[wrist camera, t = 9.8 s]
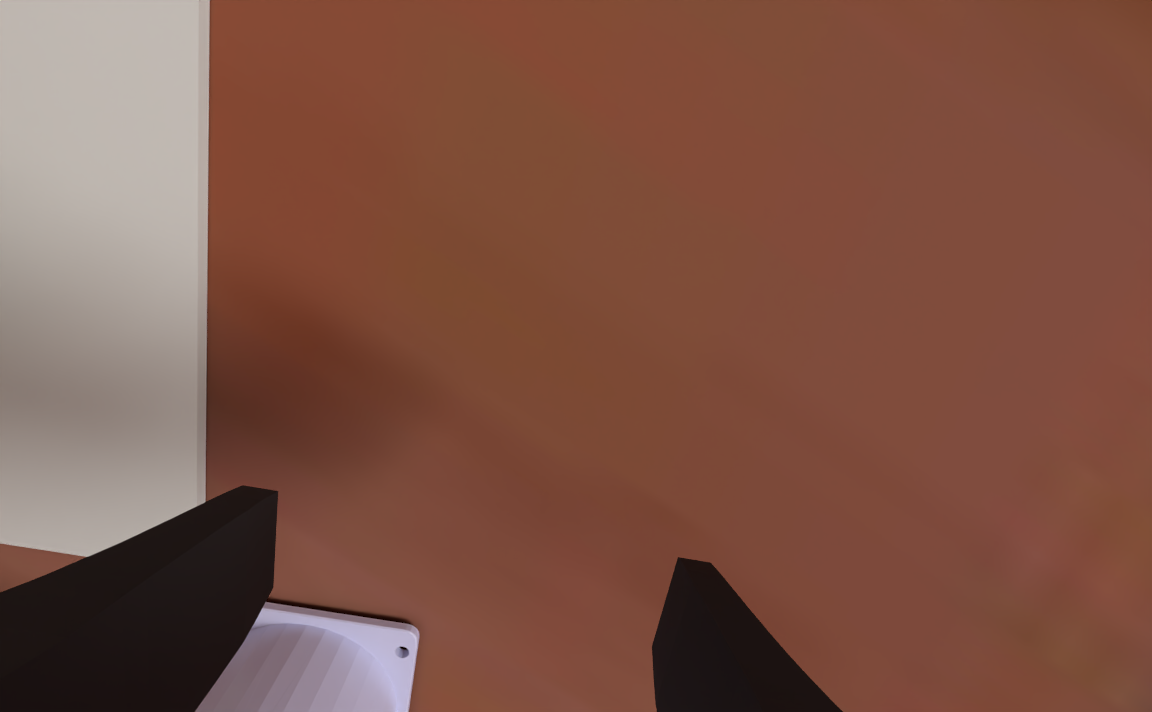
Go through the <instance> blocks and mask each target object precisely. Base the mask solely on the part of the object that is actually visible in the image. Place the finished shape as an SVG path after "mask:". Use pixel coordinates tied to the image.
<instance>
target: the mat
mask: <svg viewBox="0 0 1152 712" xmlns="http://www.w3.org/2000/svg"><path fill="white" fill-rule="evenodd" d="M209 10H210V0H0V543H2V544H8V545H15V546H21V547H27V548H34V549H40V550H47V551H53V552H60V553H66V554H72V555H79V556H85V557H88V556H91V555H93V554H95V553H98V552H100V551H102V550H105V549H107V548H109V547H112V546H114V545H116V544H118V543H121V542H123V541H125V540H127V539H129V538H132V537H134V536H136V535H138V534H140V533H142V532H144V531H146V530H148V529H151V528H153V527H155V526H157V525H159V524H161V523H163V522H165V521H167V520H170V519H172V518H174V517H176V516H178V515H180V514H182V513H184V512H186V511H188V510H190V509H192V508H194V507H196V506H199V505H201V504H203V503H205V491H206V371H207V251H208V130H209Z"/></svg>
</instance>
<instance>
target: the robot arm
mask: <svg viewBox="0 0 1152 712" xmlns="http://www.w3.org/2000/svg"><path fill="white" fill-rule="evenodd" d="M277 502H278V491H273V490H267V489H261V488H255V487H249V486H240V487H238V488H235V489H233V490H231V491H228V492H226V493H224V494H222V495H220V496H217V497H215V498H213V499H211V500H209V501H207V502H205V503H203V504H201V505H199V506H196V507H194V508H192V509H190V510H188V511H186V512H184V513H182V514H180V515H178V516H176V517H174V518H172V519H170V520H167V521H165V522H163V523H161V524H159V525H157V526H155V527H153V528H151V529H148V530H146V531H144V532H142V533H140V534H138V535H136V536H134V537H132V538H129V539H127V540H125V541H123V542H121V543H118V544H116V545H114V546H112V547H109V548H107V549H105V550H102V551H100V552H98V553H95V554H93V555H91V556H88V557H86V558H84V559H82V560H79V561H77V562H75V563H72V564H70V565H68V566H65V567H63V568H61V569H58V570H56V571H54V572H51V573H49V574H47V575H44V576H42V577H39V578H37V579H34V580H32V581H29V582H27V583H24V584H21V585H19V586H16V587H14V588H11V589H8V590H6V591H3V592H0V712H409V706H410V699H411V692H412V685H413V678H414V671H415V664H416V657H417V650H418V643H419V631H418V630H417V628H415V627H414V626H413V625H410V624H406V623H399V622H393V621H386V620H380V619H373V618H367V617H360V616H354V615H347V614H341V613H334V612H327V611H321V610H314V609H308V608H301V607H295V606H288V605H282V604H275V603H269V602H266V600H267V598H268V597H269V595H270V593H271V591H272V589H273V581H274V561H275V541H276V521H277ZM400 647H405V648H407V649H408V650H404V649H401V648H400ZM652 655H653V673H654V688H655V701H656V708H657V712H843V711H842V710H841V709H839V708H838V707H837V706H836V705H835V704H834V703H833V702H832V701H831V700H830V699H829V697H828V696H827V695H826V694H825V693H824V692H823V691H822V690H821V689H820V688H819V687H818V686H817V685H816V684H815V683H814V682H813V681H812V680H811V679H810V678H809V677H808V675H807V674H806V673H805V672H804V671H803V670H802V669H801V668H800V667H799V666H798V665H797V664H796V662H795V661H794V660H793V659H792V658H791V657H790V656H789V655H788V654H787V653H786V651H785V650H784V649H783V648H782V647H781V646H780V645H779V643H778V642H777V641H776V640H775V639H774V638H773V636H772V635H771V634H770V633H769V632H768V631H767V629H766V628H765V627H764V626H763V625H762V624H761V622H760V621H759V620H758V619H757V618H756V616H755V615H754V614H753V613H752V612H751V610H750V609H749V608H748V607H747V606H746V604H745V603H744V602H743V601H742V599H741V598H740V597H739V596H738V595H737V593H736V592H735V591H734V590H733V588H732V587H731V586H730V585H729V584H728V582H727V581H726V580H725V579H724V578H723V576H722V575H721V574H720V573H719V572H718V571H717V569H716V568H715V567H714V566H713V565H712V564H711V563H709V562H703V561H697V560H691V559H685V558H679V557H678V559H677V563H676V566H675V570H674V573H673V577H672V580H671V583H670V587H669V590H668V594H667V597H666V600H665V604H664V607H663V611H662V614H661V618H660V621H659V624H658V628H657V631H656V635H655V638H654V641H653V645H652Z"/></svg>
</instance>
